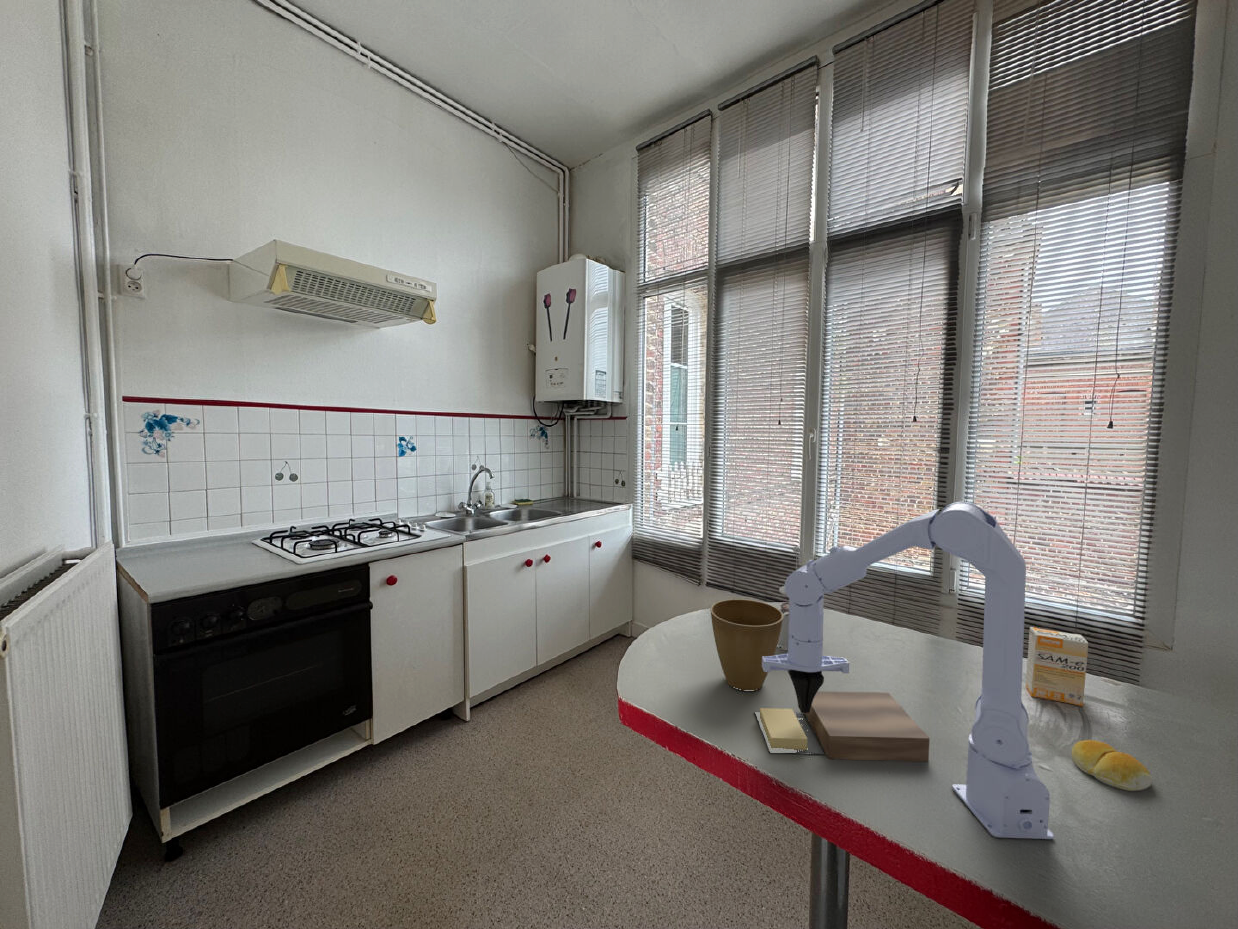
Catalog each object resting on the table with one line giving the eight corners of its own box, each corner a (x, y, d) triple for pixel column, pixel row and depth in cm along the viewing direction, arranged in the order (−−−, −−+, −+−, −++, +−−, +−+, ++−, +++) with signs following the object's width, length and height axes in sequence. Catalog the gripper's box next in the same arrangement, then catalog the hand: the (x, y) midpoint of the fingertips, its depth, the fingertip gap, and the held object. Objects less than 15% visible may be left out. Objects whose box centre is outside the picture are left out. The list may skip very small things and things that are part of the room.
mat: (823, 755, 85) (823, 753, 85) (769, 753, 85) (769, 752, 85) (801, 713, 97) (801, 712, 97) (754, 712, 97) (754, 711, 97)
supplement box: (1030, 697, 102) (1034, 634, 101) (1025, 686, 106) (1028, 625, 105) (1084, 708, 98) (1089, 642, 97) (1076, 696, 102) (1080, 633, 101)
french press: (766, 639, 130) (768, 543, 128) (804, 633, 134) (806, 540, 131) (790, 655, 121) (792, 553, 119) (830, 649, 124) (833, 549, 122)
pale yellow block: (771, 738, 86) (771, 749, 86) (807, 739, 85) (807, 750, 86) (759, 708, 95) (759, 718, 95) (792, 708, 94) (792, 719, 94)
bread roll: (1094, 751, 86) (1095, 728, 85) (1161, 788, 77) (1163, 763, 77) (1056, 758, 84) (1057, 735, 83) (1120, 797, 75) (1122, 772, 75)
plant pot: (704, 695, 103) (705, 619, 102) (715, 663, 117) (715, 595, 116) (781, 708, 99) (782, 629, 97) (782, 672, 113) (783, 602, 111)
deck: (928, 761, 83) (929, 738, 83) (829, 759, 84) (829, 736, 83) (887, 712, 97) (888, 692, 97) (802, 711, 98) (803, 691, 97)
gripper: (839, 626, 92) (837, 698, 93) (758, 625, 93) (757, 696, 94) (855, 643, 85) (852, 720, 86) (767, 642, 86) (766, 718, 87)
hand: (803, 709), depth 89 cm, fingers closed
